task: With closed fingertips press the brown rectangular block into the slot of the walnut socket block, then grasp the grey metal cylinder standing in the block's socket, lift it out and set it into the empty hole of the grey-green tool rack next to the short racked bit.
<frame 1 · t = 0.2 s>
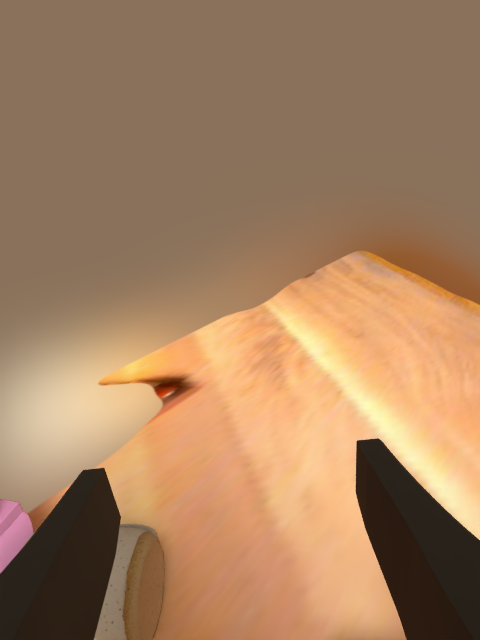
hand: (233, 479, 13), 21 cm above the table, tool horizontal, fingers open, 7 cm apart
ceramic mug: (110, 604, 32), on the table
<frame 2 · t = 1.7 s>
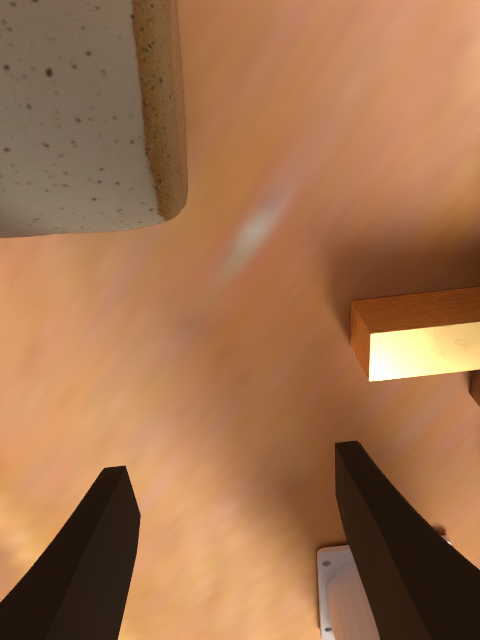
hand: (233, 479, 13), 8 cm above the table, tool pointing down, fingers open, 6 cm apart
brown rectangular block: (442, 330, 19), point 1 cm above the table, slide at 0.0 cm
ceramic mug: (60, 53, 15), on the table
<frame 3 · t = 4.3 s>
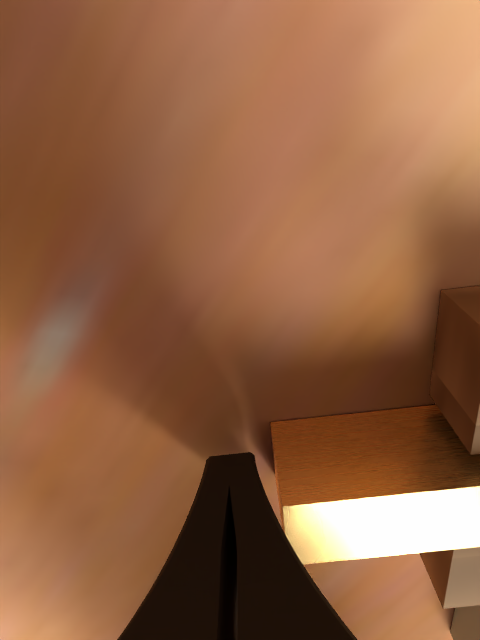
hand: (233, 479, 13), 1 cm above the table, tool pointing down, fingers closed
brown rectangular block: (405, 476, 12), point 2 cm above the table, slide at 1.4 cm, touching gripper
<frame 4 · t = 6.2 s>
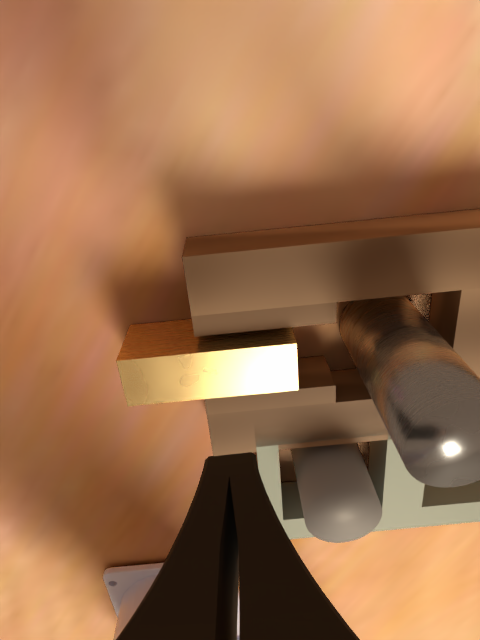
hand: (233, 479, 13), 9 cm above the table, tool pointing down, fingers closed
socket block: (376, 322, 20), on the table
brown rectangular block: (210, 355, 19), point 1 cm above the table, slide at 2.9 cm
grey metal cylinder: (376, 322, 20), resting in socket block
rack: (388, 438, 23), on the table
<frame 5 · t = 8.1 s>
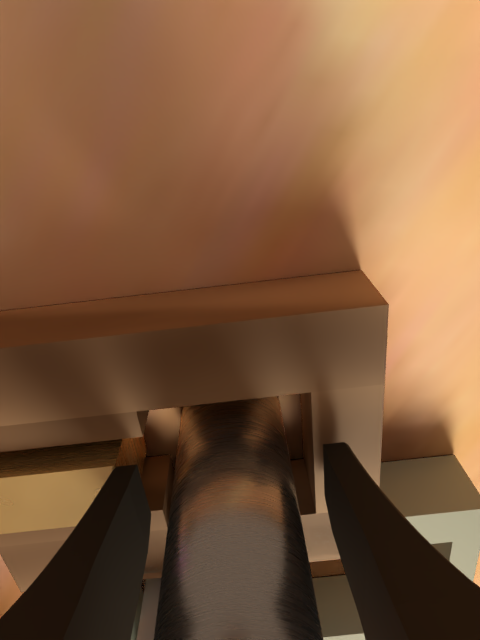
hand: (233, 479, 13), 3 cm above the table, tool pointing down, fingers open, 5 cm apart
socket block: (231, 414, 15), on the table
brown rectangular block: (23, 467, 14), point 1 cm above the table, slide at 3.8 cm, touching gripper
grey metal cylinder: (231, 414, 15), resting in socket block
rack: (274, 544, 19), on the table
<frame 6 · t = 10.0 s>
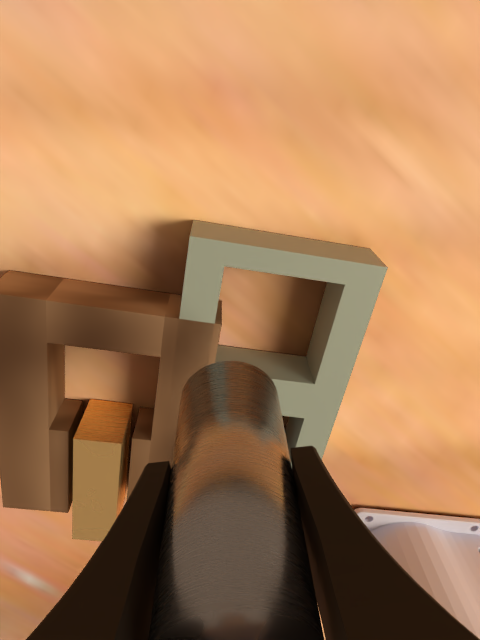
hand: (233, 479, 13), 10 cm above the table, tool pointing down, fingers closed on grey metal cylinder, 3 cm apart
socket block: (113, 365, 22), on the table
brown rectangular block: (102, 471, 24), point 2 cm above the table, slide at 4.8 cm
grey metal cylinder: (229, 402, 16), point 7 cm above the table, touching gripper
rack: (253, 366, 23), on the table
when the fingers open (4 cm above the table, at t = 11.6 s): grey metal cylinder stays where it is, resting in rack.
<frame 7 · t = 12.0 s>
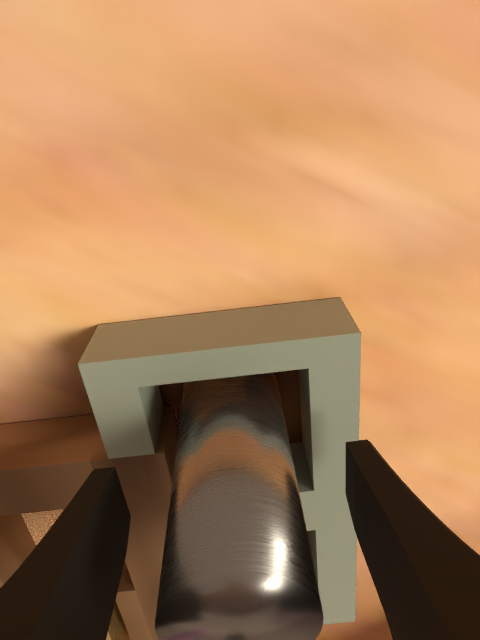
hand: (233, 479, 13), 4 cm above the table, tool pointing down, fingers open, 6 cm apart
socket block: (75, 503, 18), on the table
brown rectangular block: (101, 621, 20), point 1 cm above the table, slide at 4.8 cm
grey metal cylinder: (231, 390, 16), resting in rack
rack: (241, 467, 18), on the table
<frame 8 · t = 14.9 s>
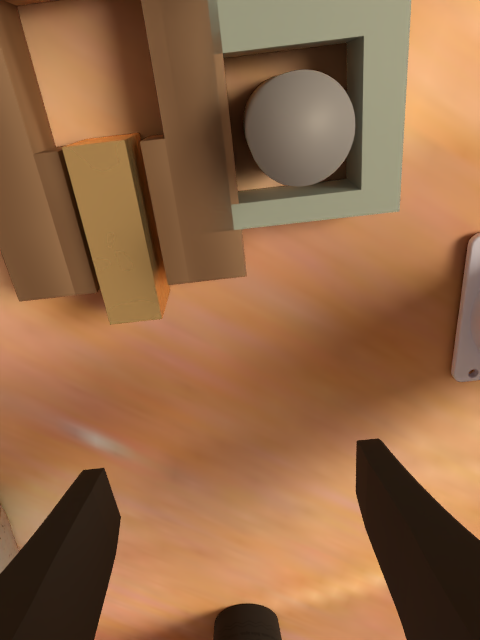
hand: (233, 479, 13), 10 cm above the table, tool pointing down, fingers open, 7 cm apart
drinking cup: (246, 619, 34), on the table
socket block: (98, 73, 17), on the table
brown rectangular block: (124, 230, 18), point 1 cm above the table, slide at 4.8 cm
rack: (278, 19, 16), on the table
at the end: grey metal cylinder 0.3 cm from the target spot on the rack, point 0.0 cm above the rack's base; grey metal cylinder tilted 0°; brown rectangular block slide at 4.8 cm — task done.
